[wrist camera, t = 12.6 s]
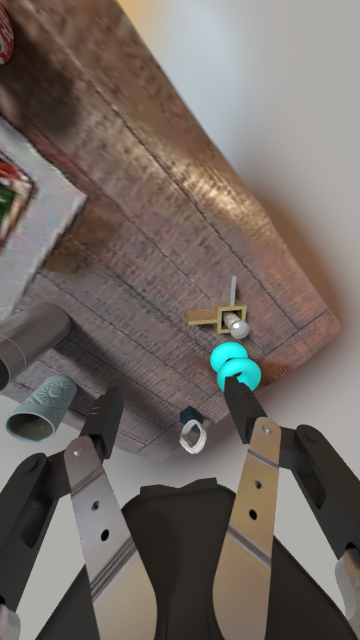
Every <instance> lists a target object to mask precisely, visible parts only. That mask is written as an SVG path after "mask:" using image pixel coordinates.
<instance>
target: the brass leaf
mask: <svg viewBox="0 0 360 640" xmlns="http://www.w3.org/2000/svg"><path fill="white" fill-rule="evenodd" d="M246 307H247V305H245V304H244V303H243V302H241V301H235V303H234V306H233V307H230V306H229V305H228V304H227V303H226V302H214V313H213V312H212V310H211V309H210V308H207V309H194V310H186V316H187V320H188V324H189V325H195V324H208V323H213V327H214V329H215V330H216V332H217V334H218V333H230V329H229V328H228V327H227V325H226V324H225V323H221V319H222V311H230V310H236V314H235V315H237V316H238V317H239V318H240V319H241V320H243V321H245V318H246Z"/></svg>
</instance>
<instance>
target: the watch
mask: <svg viewBox="0 0 360 640" xmlns="http://www.w3.org/2000/svg"><path fill="white" fill-rule="evenodd" d="M180 422H181V423H183V424H184V425H185V426H184V428H183V429H184V430H182V433H181V435H180V443H181V445H182V446H183V447H184V448H185V449H186V450H187V451H188V452H190V453H191V454H194V453H196V454H197V453H198V452H199V451H201V450H202V449H203V447H204V445H205V442H206V429H205V427H204V426H203V425H202V424H203V420H202V415H201V414H200V413H199V412H198V411H196V410H195V409H194V408H192V407H191V406H189V407H187V408H186V409H185V410H183V411H182V412H181V413H180ZM197 427H199V428H200V431H201V437H200V439H199V441H198V443H197V444H196V445H195V446H194V444H193V443H192V442H191V441H190V440H189V439H188V438H187V437H188V433H189V431H190V429H192V430H194V429H195V428H197ZM185 433H186V434H185ZM202 440H203V441H202Z"/></svg>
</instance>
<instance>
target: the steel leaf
mask: <svg viewBox="0 0 360 640" xmlns="http://www.w3.org/2000/svg"><path fill="white" fill-rule="evenodd" d="M235 288H236V275H233V274H231V273H228V272H226V271H222V274H221V298H210V309H211V310H212V312H213V313H214V302H226V303H227V304H228V305H229V306H230V307H233V306H234V303H235V301H240V300H239V299H237V298H236V297H235ZM231 311H232V312H233V313H234V314H236V310H231ZM221 323H224V321H223V320H222V319H221ZM212 325H213V323H212Z"/></svg>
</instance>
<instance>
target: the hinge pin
mask: <svg viewBox="0 0 360 640" xmlns="http://www.w3.org/2000/svg"><path fill="white" fill-rule="evenodd" d="M222 320H223V321H224V323H225V324H226V325H227V327H228V328H229V329H230V333H231V335H232V336H233V337H234V338H236V339H242V338H244V337H246V336H247V335H248V333H249V331H250V327H249V325H248V324H247V323H246V322H245V321H243V320H241V319H240V318H239V317H238V316H237V315H235V314H234V313H233V312H232V311H231V310H230V311H222Z"/></svg>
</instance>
